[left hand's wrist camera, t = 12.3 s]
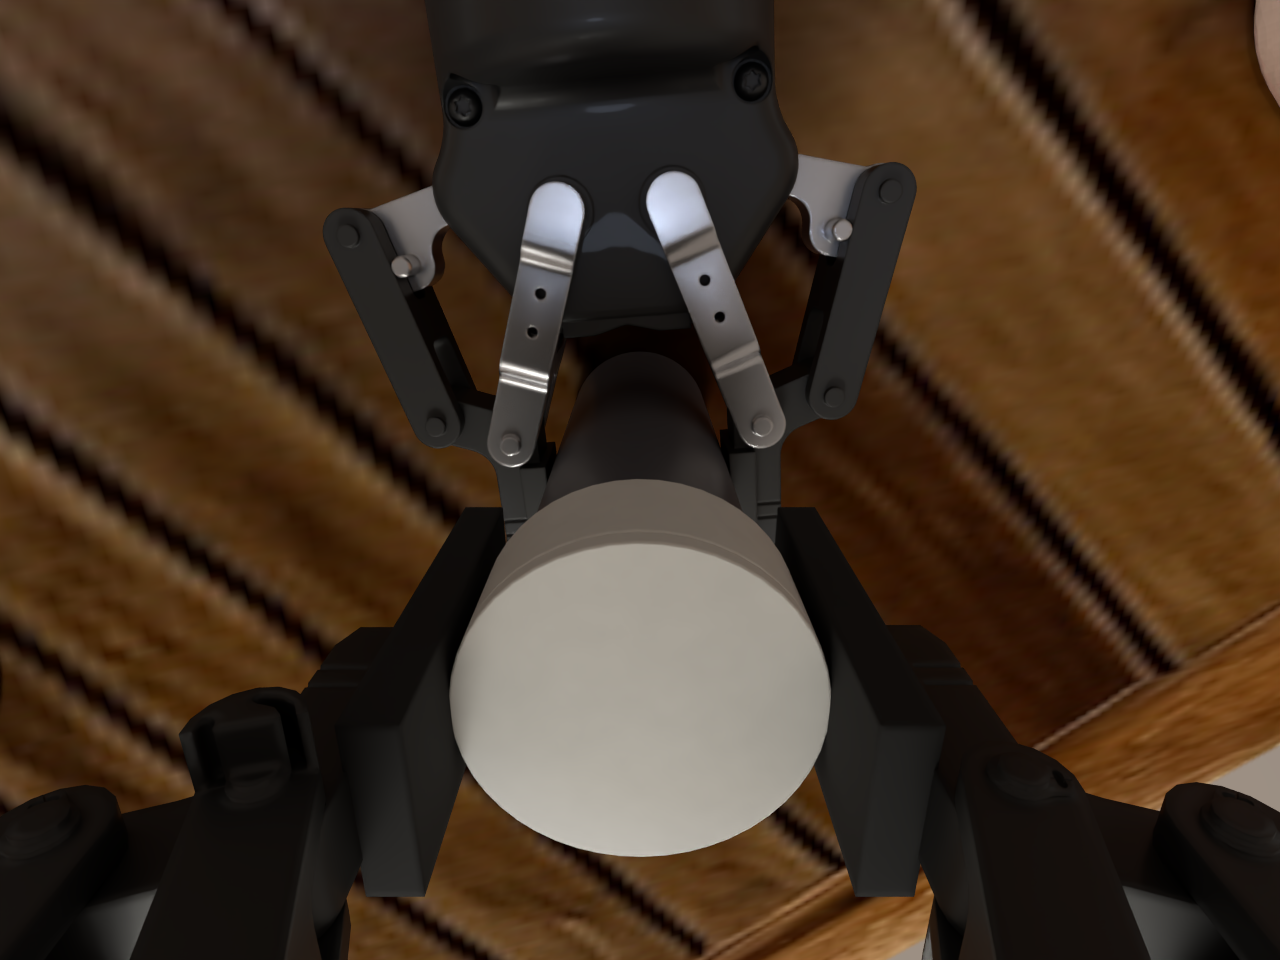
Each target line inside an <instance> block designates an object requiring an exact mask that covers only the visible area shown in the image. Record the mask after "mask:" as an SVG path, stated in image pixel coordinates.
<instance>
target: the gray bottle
mask: <svg viewBox="0 0 1280 960" xmlns="http://www.w3.org/2000/svg"><path fill="white" fill-rule="evenodd" d="M631 479H647V480H662V481H668V482H674V483H680V484H684V485H687V486H690V487H694V488H697V489H701V490H703V491H705V492H708V493H710V494H712V495H715V496H717V497H719V498H721V499H723V500H725V501H726V502H728V503H730V504H731V505H733V506H735V507H736V508H738V509H739V510H741V511H742V508H741V506H740V503H739V500H738V497H737V494H736V491H735V488H734V486H733V483H732V480H731V477H730V474H729V471H728V468H727V466H726V463H725V460H724V457H723V454H722V451H721V448H720V446H719V443H718V440H717V437H716V434H715V431H714V428H713V426H712V423H711V420H710V417H709V414H708V411H707V409H706V406H705V403H704V400H703V397H702V394H701V391H700V389H699V387H698V385H697V383H696V382H695V380H694V379H693V377H692V376H691V375H690V374H689V373H688V372H687V371H686V370H685V369H684V368H683V367H682V366H681V365H680V364H678V363H676V362H675V361H673V360H672V359H669V358H667V357H665V356H662V355H659V354H656V353H651V352H629V353H624V354H620V355H617V356H615V357H612V358H610V359H608V360H606V361H605V362H603V363H602V364H600V365H599V366H598V367H597V368H596V369H594V370H593V371H592V372H591V374H590V375H589V376H588V377H587V378H586V380H585V382H584V383H583V385H582V387H581V389H580V391H579V393H578V396H577V399H576V402H575V405H574V408H573V410H572V413H571V416H570V419H569V422H568V425H567V428H566V431H565V433H564V436H563V439H562V442H561V445H560V448H559V451H558V453H557V456H556V459H555V462H554V465H553V468H552V471H551V474H550V476H549V479H548V482H547V485H546V488H545V491H544V494H543V496H542V499H541V502H540V505H539V508H538V511H540V510H541V509H543V508H544V507H546V506H547V505H549V504H550V503H552V502H554V501H556V500H558V499H560V498H562V497H564V496H566V495H568V494H570V493H572V492H575V491H578V490H580V489H583V488H586V487H589V486H592V485H597V484H602V483H606V482H611V481H619V480H631ZM538 511H537V512H538ZM742 512H743V511H742Z"/></svg>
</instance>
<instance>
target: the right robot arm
mask: <svg viewBox="0 0 1280 960" xmlns="http://www.w3.org/2000/svg"><path fill="white" fill-rule="evenodd" d="M425 5H426V12H427V18H428V24H429V30H430V37H431V43H432V49H433V56H434V62H435V68H436V74H437V81H438V87H439V93H440V99H441V105H442V111H443V121H444V130H443V140H442V146H441V150H440V154H439V157H438V159H437V162H436V165H435V168H434V172H433V178H432V186H430V187H428V188H425V189H423V190H420V191H417V192H415V193H412V194H409V195H407V196H404V197H402V198H399V199H396V200H394V201H391V202H389V203H386V204H383V205H381V206H378V207H376V208H373V209H365V208H340V209H337V210H335V211H333V212H332V213H331V214H329V216H328V217H327V218H326V220H325V222H324V226H323V237H324V241H325V244H326V246H327V248H328V250H329V252H330V255H331V257H332V259H333V261H334V263H335V265H336V267H337V269H338V272H339V274H340V276H341V278H342V280H343V282H344V284H345V286H346V288H347V291H348V293H349V295H350V297H351V299H352V301H353V303H354V305H355V308H356V310H357V312H358V314H359V316H360V318H361V320H362V322H363V324H364V327H365V329H366V331H367V333H368V335H369V337H370V339H371V341H372V344H373V346H374V348H375V350H376V352H377V354H378V356H379V358H380V360H381V363H382V365H383V367H384V369H385V371H386V373H387V375H388V377H389V380H390V382H391V384H392V386H393V388H394V390H395V392H396V394H397V396H398V399H399V401H400V403H401V405H402V407H403V409H404V411H405V413H406V416H407V418H408V420H409V422H410V424H411V426H412V428H413V430H414V432H415V434H416V436H417V437H418V439H419V440H420V441H421V442H422V443H424V444H425V445H427V446H429V447H433V448H445V447H448V446H450V445H453V446H457V447H461V448H464V449H468V450H472V451H475V452H478V453H480V454H482V455H483V456H485V457H486V458H487V459H488V460H489V461H490V462H491V463H492V465H493V467H494V468H495V471H496V474H497V480H498V486H499V492H500V499H501V505H502V507H503V516H504V521H505V523H504V524H505V530H506V534H507V542H508V541H509V539H510V538H511V537H512V536H513V535H514V533H515V532H516V531H517V530H518V529H519V528H520V527H521V526H522V525H523V524H524V523H525V522H526V521H527V520H529V519H530V518H531V517H532V516H533V515H534V514H535V513H537V511H538V508H539V505H540V502H541V499H542V496H543V494H544V491H545V488H546V485H547V482H548V479H549V476H550V474H551V471H552V468H553V465H554V462H555V459H556V456H557V454H556V446H555V442H546V435H545V426H546V422H547V417H548V413H549V409H550V404H551V400H552V395H553V391H554V387H555V382H556V378H557V374H558V370H559V366H560V363H561V359H562V356H563V352H564V348H565V343H566V339H567V338H574V337H586V336H596V335H599V334H601V333H604V332H607V331H610V330H612V329H615V328H618V327H621V326H624V325H632V326H638V327H643V328H649V329H654V330H659V331H661V330H673V329H686V328H691V323H692V324H693V327H694V329H695V332H696V334H697V337H698V339H699V341H700V344H701V346H702V348H703V351H704V353H705V355H706V358H707V360H708V363H709V365H710V367H711V370H712V372H713V375H714V377H715V379H716V382H717V384H718V387H719V389H720V392H721V394H722V396H723V399H724V401H725V404H726V406H727V422H728V429H724V430H720V442H721V451H722V454H723V457H724V460H725V463H726V466H727V468H728V471H729V474H730V477H731V480H732V483H733V486H734V488H735V491H736V494H737V497H738V500H739V503H740V506H741V508H742V511H743V513H744V514H746V515H747V516H748V517H749V518H751V519H752V520H753V521H754V522H756V524H757V525H758V526H759V527H760V528H761V529H762V530H763V531H764V532H765V533H766V534H767V535H768V536H769V538H770V539H771V540H772V542H773V543H774V545H775V535H776V522H777V508H778V507H781V502H780V501H781V471H780V453H781V447H782V444H783V442H784V440H785V439H786V437H787V436H788V435H789V434H790V433H791V432H792V431H793V430H795V429H796V428H798V427H800V426H802V425H805V424H807V423H809V422H812V421H814V420H816V419H819V418H821V417H822V418H824V419H829V420H833V419H838V418H841V417H844V416H845V415H847V414H848V413H849V412H850V411H851V410H852V409H853V408H854V406H855V404H856V401H857V398H858V395H859V391H860V388H861V384H862V381H863V377H864V374H865V370H866V367H867V363H868V360H869V356H870V353H871V349H872V346H873V342H874V339H875V335H876V332H877V328H878V325H879V321H880V318H881V315H882V311H883V308H884V304H885V301H886V297H887V294H888V290H889V287H890V283H891V280H892V276H893V273H894V269H895V266H896V262H897V259H898V255H899V252H900V248H901V245H902V241H903V238H904V234H905V231H906V227H907V224H908V220H909V217H910V213H911V210H912V206H913V203H914V199H915V196H916V189H917V186H916V180H915V177H914V175H913V173H912V172H911V170H910V169H909V168H908V167H906V166H905V165H903V164H901V163H897V162H889V163H878V164H873V165H869V166H859V165H854V164H849V163H843V162H838V161H833V160H828V159H823V158H817V157H812V156H807V155H802V154H798V150H797V146H796V143H795V140H794V138H793V136H792V134H791V132H790V130H789V129H788V127H787V125H786V123H785V121H784V119H783V117H782V114H781V111H780V108H779V105H778V101H777V96H776V89H775V65H774V0H425ZM787 198H788V199H790V200H791V201H793V202H794V203H795V204H796V205H797V207H798V208H799V210H800V212H801V216H802V229H801V234H802V239H803V241H804V243H805V245H806V246H807V247H808V249H810V250H811V251H812V252H814V253H817V254H820V255H819V259H818V263H817V267H816V271H815V275H814V279H813V283H812V287H811V291H810V295H809V299H808V303H807V307H806V311H805V315H804V319H803V323H802V327H801V331H800V335H799V339H798V343H797V347H796V351H795V355H794V359H793V364H792V366H790V367H787V368H785V369H783V370H781V371H778V372H776V373H774V374H772V375H768V372H767V370H766V367H765V365H764V362H763V359H762V356H761V351H760V347H759V344H758V342H757V339H756V336H755V334H754V331H753V328H752V326H751V323H750V321H749V318H748V315H747V313H746V310H745V308H744V305H743V302H742V300H741V297H740V295H739V292H738V290H737V287H736V284H735V280H736V279H737V277H738V275H739V274H740V272H741V271H742V269H743V268H744V266H745V264H746V263H747V261H748V260H749V258H750V257H751V255H752V253H753V252H754V250H755V249H756V247H757V245H758V244H759V242H760V241H761V239H762V238H763V236H764V234H765V233H766V231H767V230H768V228H769V227H770V225H771V223H772V222H773V220H774V219H775V217H776V216H777V214H778V212H779V211H780V209H781V208H782V206H783V205H784V203H785V201H786V200H787ZM450 228H451V229H452V230H453V231H454V232H455V233H456V234H457V235H458V237H459V238H460V239H461V240H462V241H463V242H464V243H465V244H466V246H467V247H468V248H469V249H470V250H471V251H472V252H473V253H474V254H475V256H476V257H477V258H478V259H479V260H480V261H481V262H482V263H483V265H484V266H485V267H486V268H487V269H488V270H489V271H490V272H491V274H492V275H493V276H494V277H495V278H496V279H497V280H498V281H499V282H500V284H501V285H502V286H503V287H504V288H505V289H506V290H507V291H508V293H509V294H510V295H511V296H512V297H513V298H512V303H511V308H510V313H509V318H508V323H507V328H506V333H505V338H504V343H503V348H502V353H501V358H500V365H499V374H500V378H499V384H498V389H497V394H496V396H495V395H491V394H488V393H484V392H480V391H477V389H476V387H475V385H474V382H473V380H472V378H471V376H470V373H469V371H468V369H467V366H466V364H465V362H464V359H463V357H462V355H461V352H460V350H459V348H458V345H457V343H456V341H455V338H454V336H453V334H452V331H451V329H450V327H449V324H448V322H447V320H446V317H445V315H444V313H443V310H442V308H441V306H440V303H439V301H438V299H437V297H436V294H435V292H434V290H433V287H432V286H433V285H435V284H436V283H437V282H438V281H439V280H440V279H441V277H442V276H443V273H444V269H445V262H444V257H443V254H442V241H443V238H444V236H445V234H446V232H447V231H448V230H449V229H450Z"/></svg>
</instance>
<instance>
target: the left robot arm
mask: <svg viewBox="0 0 1280 960" xmlns="http://www.w3.org/2000/svg"><path fill="white" fill-rule="evenodd" d="M505 545H506V543H505V530H504V516H503V507H466V508H465V509H464V511H463V513H462V514H461V516H460V518H459V519H458V521H457V523H456V524H455V526H454V528H453V529H452V531H451V533H450V534H449V536H448V538H447V539H446V541H445V543H444V544H443V546H442V548H441V549H440V551H439V553H438V554H437V556H436V558H435V559H434V561H433V563H432V564H431V566H430V567H429V569H428V571H427V572H426V574H425V576H424V577H423V579H422V581H421V582H420V584H419V586H418V587H417V589H416V591H415V592H414V594H413V596H412V597H411V599H410V601H409V602H408V604H407V606H406V607H405V609H404V611H403V612H402V614H401V616H400V617H399V619H398V621H397V622H396V624H395V626H394V627H360V628H359V629H358V630H356V631H355V632H353V633H352V634H350V635H349V636H348V637H346V638H345V639H343V640H342V641H341V642H339V643H338V644H336V645H335V646H334V648H333V649H332V651H331V652H330V653H329V655H328V656H327V658H326V659H325V660H324V662H323V663H322V665H321V669H320V670H317V672H316V673H315V674H314V676H313V677H312V679H311V680H310V681H309V683H308V688H305V689H304V690H303V691H302V693H301V694H299V693H298V692H297V691H295V690H291V689H286V688H282V687H266V688H255V689H251V690H247V691H243V692H239V693H235V694H232V695H230V696H228V697H226V698H223V699H221V700H219V701H217V702H215V703H213V704H210V705H209V706H207V707H206V708H205V709H203V710H202V711H201V712H199V713H198V714H196V715H195V716H194V717H192V718H191V719H190V720H189V722H188V723H187V724H186V725H185V727H184V728H183V729H182V731H181V732H180V733H179V737H180V741H181V744H182V748H183V751H184V755H185V758H186V762H187V765H188V769H189V772H190V776H191V779H192V783H193V786H194V790H195V794H194V796H192V797H189V798H186V799H182V800H179V801H175V802H171V803H167V804H162V805H158V806H154V807H149V808H145V809H141V810H136V811H132V812H128V813H124V814H121V811H120V808H119V805H118V802H117V799H116V796H114V795H113V794H112V793H111V792H109V791H108V790H107V789H106V788H104V787H96V786H89V785H82V786H76V787H70V788H63V789H59V790H56V791H53V792H50V793H47V794H45V795H41V796H39V797H36V798H33V799H31V800H29V801H27V802H25V803H23V804H22V805H20V806H18V807H16V808H14V809H13V810H11V811H9V812H7V813H5V814H3V815H2V816H1V817H0V960H348V950H349V940H350V930H351V923H350V916H349V909H348V904H347V899H346V898H347V895H348V893H349V891H350V889H351V886H352V884H353V882H354V879H355V877H356V875H357V872H358V870H359V868H360V866H361V871H362V876H363V882H364V887H365V892H366V897H425V894H426V891H427V887H428V884H429V881H430V878H431V875H432V872H433V869H434V865H435V862H436V859H437V856H438V853H439V850H440V846H441V843H442V840H443V837H444V834H445V831H446V828H447V824H448V821H449V818H450V815H451V812H452V809H453V806H454V802H455V799H456V796H457V793H458V790H459V787H460V783H461V780H462V777H463V774H464V771H465V768H466V765H467V764H466V763H465V761H464V759H463V757H462V755H461V752H460V750H459V747H458V745H457V742H456V739H455V737H454V732H453V725H452V717H451V708H450V699H449V687H450V677H451V672H452V668H453V664H454V661H455V657H456V653H457V651H458V649H459V646H460V644H461V642H462V639H463V637H464V634H465V632H466V630H467V627H468V625H469V623H470V620H471V618H472V615H473V613H474V611H475V608H476V606H477V604H478V601H479V599H480V596H481V594H482V592H483V589H484V587H485V585H486V582H487V580H488V577H489V575H490V573H491V570H492V568H493V566H494V564H495V561H496V559H497V557H498V556H499V554H500V553H501V551H502V549H503V548H504V546H505ZM775 546H776V548H777V549H778V550H779V552H780V553H781V555H782V557H783V559H784V561H785V563H786V565H787V567H788V569H789V572H790V574H791V576H792V579H793V581H794V583H795V586H796V588H797V590H798V593H799V595H800V598H801V600H802V602H803V605H804V607H805V609H806V612H807V614H808V616H809V619H810V621H811V624H812V626H813V628H814V631H815V633H816V636H817V638H818V640H819V642H820V645H821V647H822V650H823V653H824V657H825V660H826V663H827V666H828V670H829V677H830V683H831V702H830V712H829V720H828V728H827V734H826V737H825V740H824V743H823V746H822V749H821V751H820V753H819V755H818V757H817V759H816V761H815V763H814V766H815V770H816V773H817V776H818V779H819V782H820V785H821V788H822V792H823V795H824V798H825V801H826V804H827V807H828V811H829V814H830V817H831V820H832V823H833V826H834V829H835V833H836V836H837V839H838V842H839V845H840V848H841V851H842V855H843V858H844V861H845V864H846V867H847V870H848V874H849V877H850V880H851V883H852V886H853V889H854V892H855V896H856V897H914V895H915V889H916V884H917V879H918V873H919V868H920V863H921V866H922V868H923V870H924V873H925V875H926V877H927V879H928V882H929V884H930V886H931V889H932V891H933V893H934V899H933V904H932V909H931V914H930V919H929V924H928V929H927V934H926V939H925V944H924V949H923V955H922V960H932V958H933V960H1280V812H1278V811H1277V810H1275V809H1273V808H1271V807H1269V806H1267V805H1265V804H1264V803H1262V802H1260V801H1258V800H1256V799H1254V798H1253V797H1251V796H1248V795H1245V794H1243V793H1240V792H1237V791H1234V790H1231V789H1228V788H1225V787H1223V786H1217V785H1211V784H1205V783H1198V782H1194V783H1186V784H1179V785H1176V786H1175V787H1173V788H1172V789H1171V790H1170V791H1169V792H1167V793H1166V795H1165V798H1164V801H1163V804H1162V807H1161V810H1160V811H1157V810H1152V809H1148V808H1144V807H1139V806H1135V805H1131V804H1126V803H1122V802H1118V801H1113V800H1109V799H1105V798H1101V797H1098V796H1095V795H1091V794H1088V793H1085V791H1084V789H1083V788H1082V786H1081V785H1080V783H1079V782H1078V780H1077V779H1076V777H1075V776H1074V775H1073V774H1072V773H1071V772H1070V771H1069V770H1067V769H1066V768H1065V767H1064V766H1063V765H1061V764H1060V763H1059V762H1058V761H1057V760H1055V759H1053V758H1051V757H1049V756H1047V755H1045V754H1043V753H1042V752H1040V751H1038V750H1036V749H1034V748H1030V747H1027V746H1024V745H1020V744H1018V743H1017V742H1016V741H1015V739H1014V738H1013V736H1012V735H1011V734H1010V732H1009V731H1008V729H1007V728H1006V727H1005V725H1004V724H1003V722H1002V721H1001V720H1000V718H999V717H998V715H997V714H996V713H995V711H994V710H993V709H992V707H991V706H990V704H989V703H988V702H987V700H986V699H985V697H984V696H983V695H982V693H981V692H980V690H979V689H978V688H977V686H976V685H973V681H972V679H971V678H970V676H969V675H968V674H967V672H966V671H965V670H964V668H961V667H960V663H959V661H958V660H957V658H956V657H955V656H954V654H953V653H952V651H951V650H950V649H949V647H948V646H947V644H946V643H945V642H943V641H942V640H940V639H939V638H938V637H936V636H935V635H933V634H932V633H931V632H929V631H928V630H926V629H925V628H923V627H922V626H921V625H885V623H884V622H883V620H882V618H881V617H880V615H879V613H878V612H877V610H876V608H875V607H874V605H873V603H872V602H871V600H870V598H869V597H868V595H867V593H866V592H865V590H864V588H863V587H862V585H861V583H860V582H859V580H858V578H857V577H856V575H855V573H854V572H853V570H852V568H851V567H850V565H849V563H848V562H847V560H846V558H845V557H844V555H843V554H842V552H841V550H840V549H839V547H838V545H837V544H836V542H835V540H834V539H833V537H832V535H831V534H830V532H829V530H828V529H827V527H826V525H825V524H824V522H823V520H822V519H821V517H820V515H819V514H818V512H817V510H816V509H815V507H778V508H777V522H776V535H775Z"/></svg>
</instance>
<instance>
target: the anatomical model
mask: <svg viewBox="0 0 1280 960" xmlns="http://www.w3.org/2000/svg"><path fill="white" fill-rule="evenodd" d="M1254 38H1255V49H1256V53H1257V57H1258V61H1259V65H1260V69H1261V72H1262V75H1263V77H1264V79H1265V81H1266V84H1267V86H1268V88H1269V90H1270V92H1271V93H1272V95H1273V97H1274V98H1275V100H1276V102H1277V103H1278V105H1279V107H1280V0H1256V6H1255V14H1254Z"/></svg>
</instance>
